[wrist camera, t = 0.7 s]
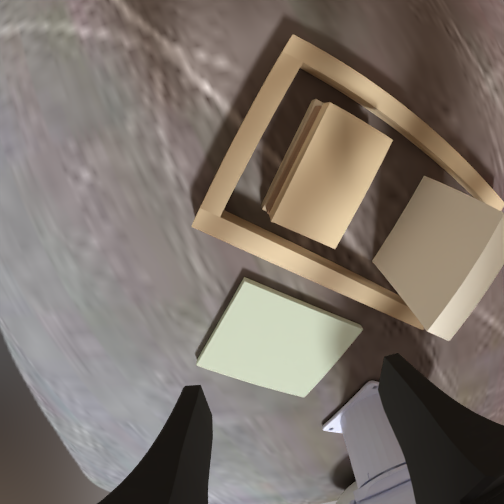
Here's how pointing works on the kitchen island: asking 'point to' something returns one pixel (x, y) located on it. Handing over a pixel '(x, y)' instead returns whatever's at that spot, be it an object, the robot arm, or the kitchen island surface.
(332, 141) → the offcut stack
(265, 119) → the wooden rectangular frame
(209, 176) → the kitchen island surface
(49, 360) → the kitchen island surface
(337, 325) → the sage mat
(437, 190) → the cream rectangular block
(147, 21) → the kitchen island surface
